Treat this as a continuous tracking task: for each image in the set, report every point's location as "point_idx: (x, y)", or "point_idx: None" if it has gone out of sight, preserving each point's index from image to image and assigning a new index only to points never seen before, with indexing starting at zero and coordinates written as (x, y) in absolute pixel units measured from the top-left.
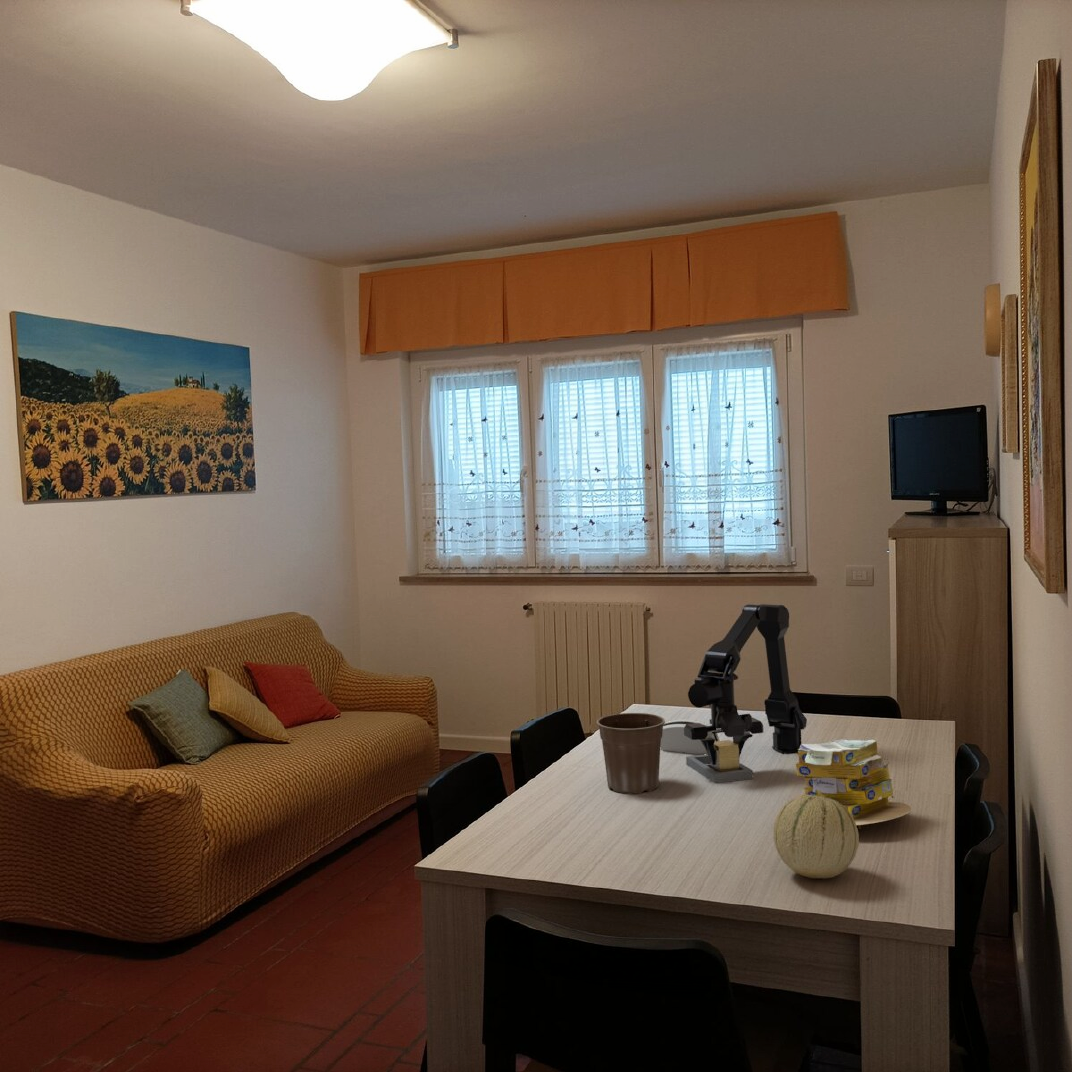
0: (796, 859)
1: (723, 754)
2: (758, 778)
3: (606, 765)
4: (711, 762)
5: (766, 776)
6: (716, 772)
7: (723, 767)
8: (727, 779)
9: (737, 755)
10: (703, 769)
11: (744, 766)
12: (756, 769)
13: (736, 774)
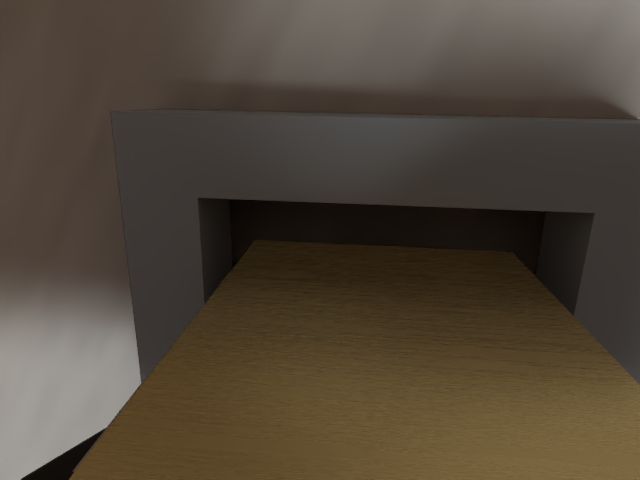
0: None
1: (536, 388)
2: (101, 90)
3: None
4: None
5: (2, 128)
6: (607, 212)
7: (475, 272)
8: (469, 116)
9: (201, 338)
10: None
11: (149, 309)
12: (32, 373)
13: (348, 115)
